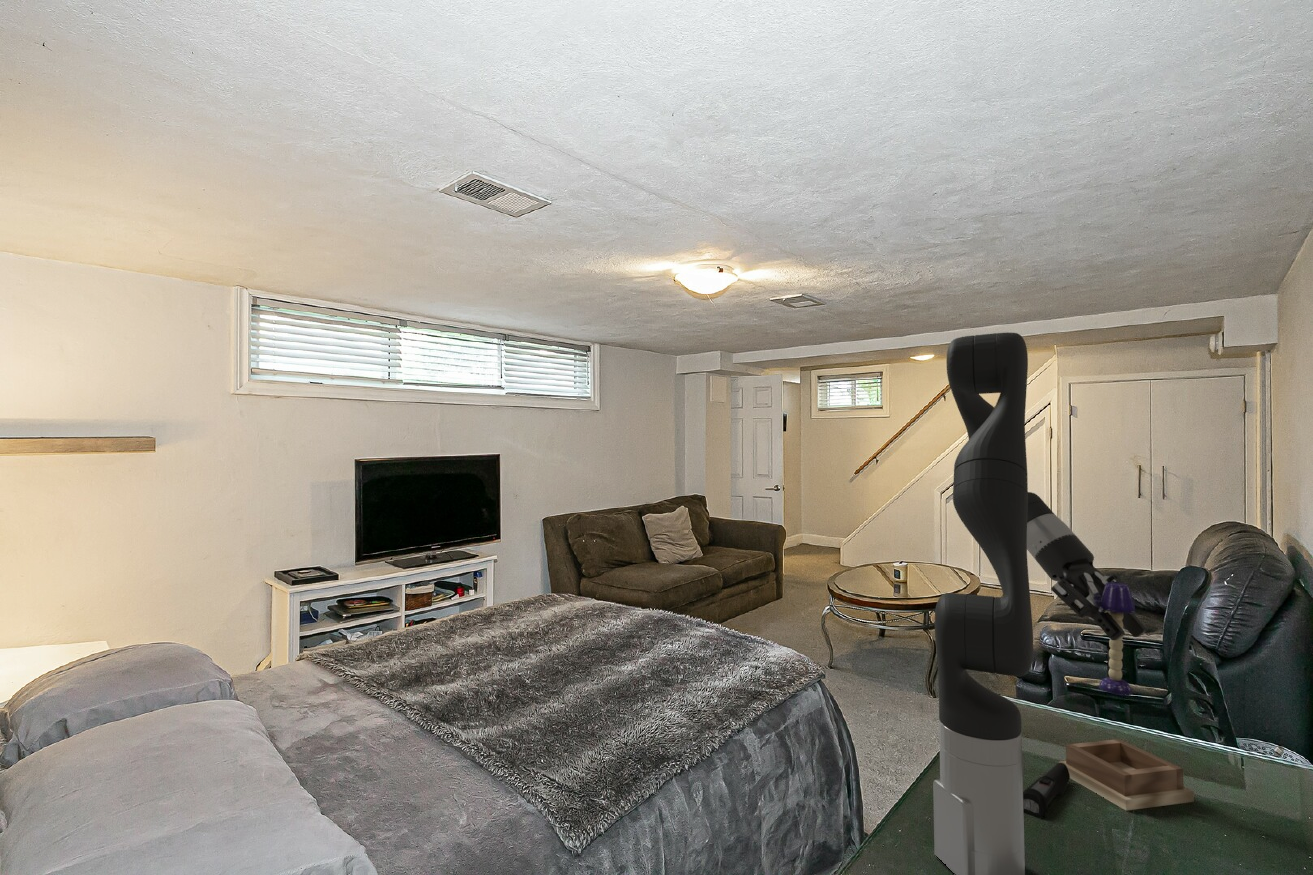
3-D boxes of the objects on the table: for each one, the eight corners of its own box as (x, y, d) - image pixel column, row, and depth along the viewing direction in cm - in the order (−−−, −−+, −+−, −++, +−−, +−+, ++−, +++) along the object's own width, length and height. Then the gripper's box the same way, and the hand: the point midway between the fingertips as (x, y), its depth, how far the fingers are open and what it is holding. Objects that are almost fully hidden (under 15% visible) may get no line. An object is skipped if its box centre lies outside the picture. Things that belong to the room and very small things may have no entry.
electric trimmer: (1077, 786, 100) (1076, 765, 100) (1044, 822, 90) (1043, 799, 90) (1050, 777, 103) (1049, 757, 103) (1015, 811, 92) (1014, 789, 93)
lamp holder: (1125, 810, 92) (1125, 778, 92) (1058, 771, 104) (1057, 742, 104) (1193, 801, 94) (1192, 770, 95) (1120, 764, 106) (1119, 736, 106)
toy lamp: (1125, 686, 102) (1122, 580, 102) (1144, 697, 97) (1141, 586, 98) (1093, 685, 102) (1090, 580, 103) (1110, 696, 98) (1108, 586, 98)
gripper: (1038, 534, 105) (1116, 627, 93) (1098, 531, 110) (1179, 618, 99) (1010, 562, 110) (1081, 653, 98) (1069, 557, 115) (1143, 643, 103)
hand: (1130, 635), depth 98 cm, fingers closed on toy lamp, 4 cm apart
